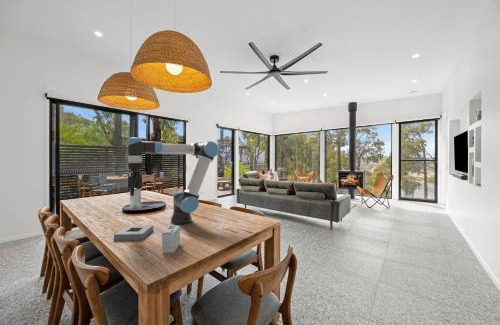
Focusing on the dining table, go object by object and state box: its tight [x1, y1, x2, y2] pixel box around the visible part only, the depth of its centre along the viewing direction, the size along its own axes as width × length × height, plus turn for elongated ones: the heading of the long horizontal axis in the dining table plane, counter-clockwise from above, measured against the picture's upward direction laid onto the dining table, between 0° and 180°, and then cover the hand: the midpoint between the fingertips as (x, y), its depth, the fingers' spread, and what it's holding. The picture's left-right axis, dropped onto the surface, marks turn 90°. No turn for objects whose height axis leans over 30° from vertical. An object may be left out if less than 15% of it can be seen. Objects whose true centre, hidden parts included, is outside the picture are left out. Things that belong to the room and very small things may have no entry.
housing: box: [113, 224, 154, 241], centre depth 128 cm, size 16×16×4 cm
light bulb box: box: [161, 225, 181, 254], centre depth 111 cm, size 11×7×11 cm, turn 5°
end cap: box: [129, 187, 142, 211], centre depth 128 cm, size 6×6×12 cm
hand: (135, 199), depth 128 cm, fingers closed on end cap, 6 cm apart
